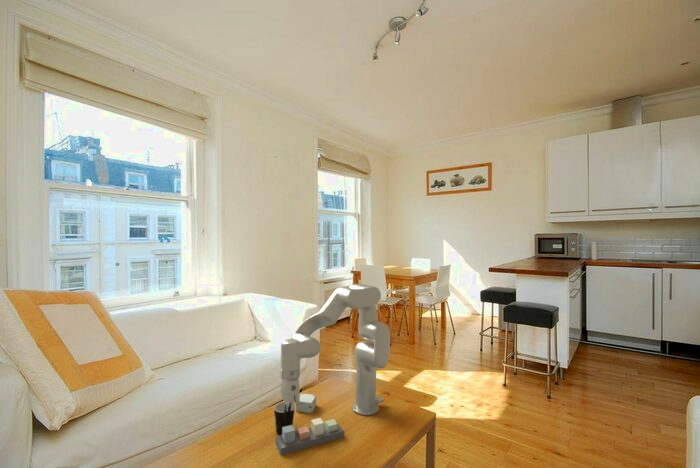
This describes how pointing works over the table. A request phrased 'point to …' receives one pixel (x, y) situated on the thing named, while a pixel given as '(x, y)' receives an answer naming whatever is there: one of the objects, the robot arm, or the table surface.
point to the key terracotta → (303, 433)
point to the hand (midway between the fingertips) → (288, 420)
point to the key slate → (288, 434)
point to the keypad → (308, 440)
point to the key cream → (317, 426)
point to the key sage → (330, 425)
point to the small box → (306, 403)
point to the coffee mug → (280, 418)
